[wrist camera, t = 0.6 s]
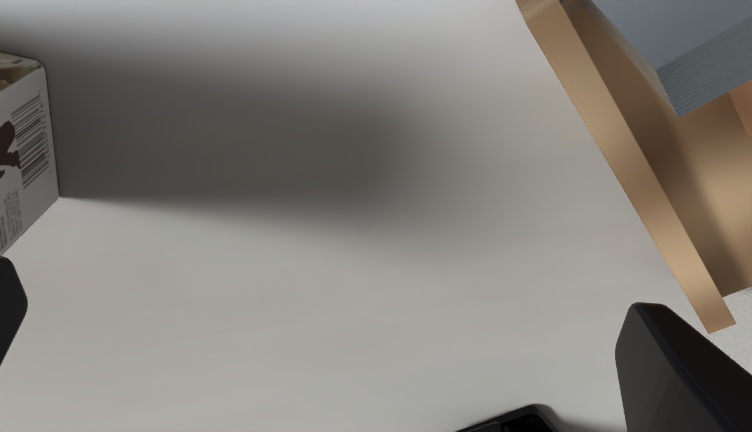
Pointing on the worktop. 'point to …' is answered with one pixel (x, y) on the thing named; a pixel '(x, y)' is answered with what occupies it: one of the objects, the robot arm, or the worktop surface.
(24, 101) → the coffee box
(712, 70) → the tailgate
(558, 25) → the square wooden tray
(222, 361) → the worktop surface
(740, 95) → the block
